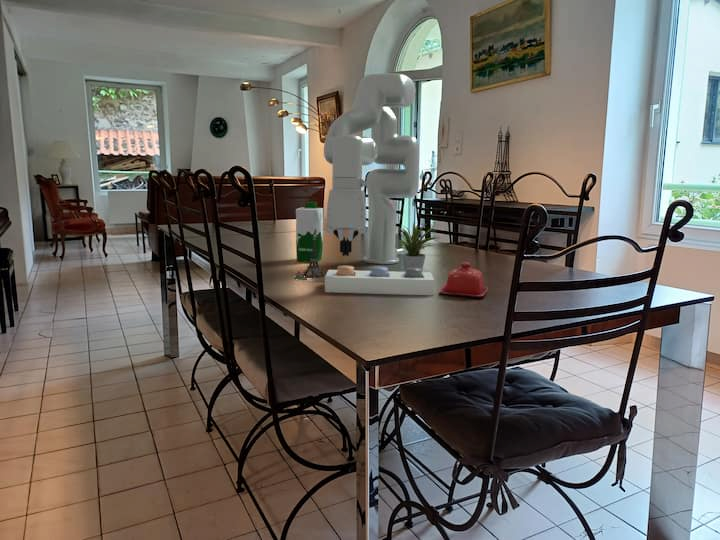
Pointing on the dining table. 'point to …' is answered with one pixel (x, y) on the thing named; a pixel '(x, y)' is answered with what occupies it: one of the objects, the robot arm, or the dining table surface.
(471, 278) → the butter dish
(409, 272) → the charcoal button
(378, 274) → the slate blue button
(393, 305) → the dining table surface
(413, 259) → the house plant
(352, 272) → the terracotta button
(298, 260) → the milk carton
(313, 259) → the eiffel tower figurine
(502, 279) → the dining table surface
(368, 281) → the white button panel
